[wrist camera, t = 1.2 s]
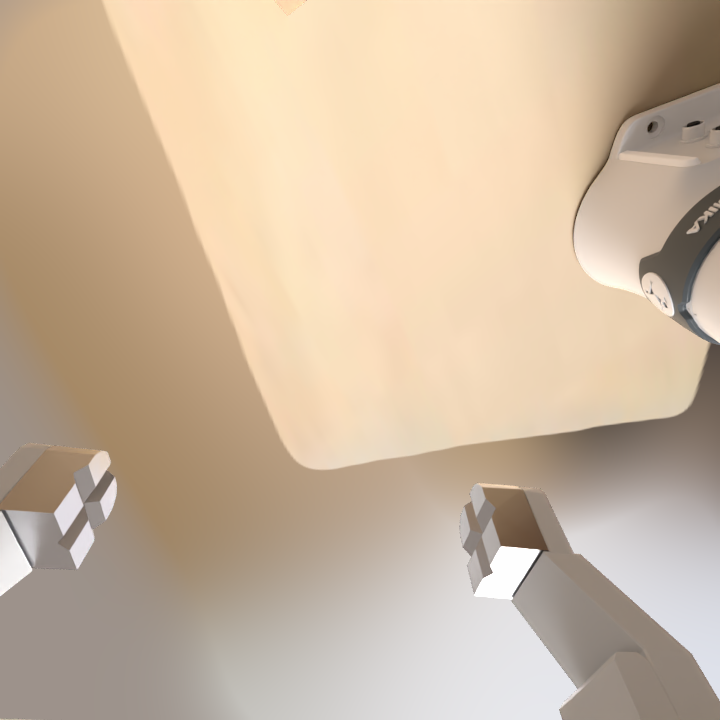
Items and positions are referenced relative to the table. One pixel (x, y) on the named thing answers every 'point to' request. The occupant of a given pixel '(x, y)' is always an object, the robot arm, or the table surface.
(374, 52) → the table surface
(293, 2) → the terracotta block
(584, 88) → the table surface
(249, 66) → the table surface
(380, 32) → the table surface
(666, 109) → the robot arm
